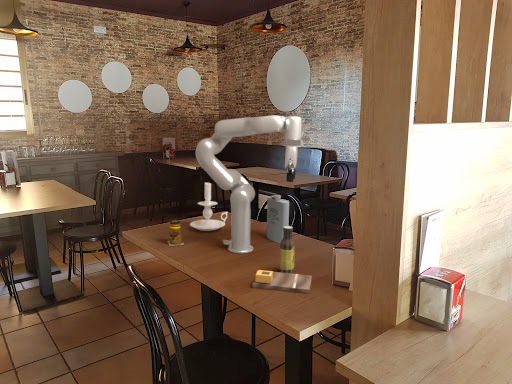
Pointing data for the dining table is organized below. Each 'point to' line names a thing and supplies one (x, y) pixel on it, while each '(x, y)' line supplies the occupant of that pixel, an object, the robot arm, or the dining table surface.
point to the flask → (277, 218)
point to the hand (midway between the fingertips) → (290, 180)
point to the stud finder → (264, 276)
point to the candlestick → (208, 214)
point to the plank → (287, 282)
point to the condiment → (175, 233)
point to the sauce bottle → (287, 251)
